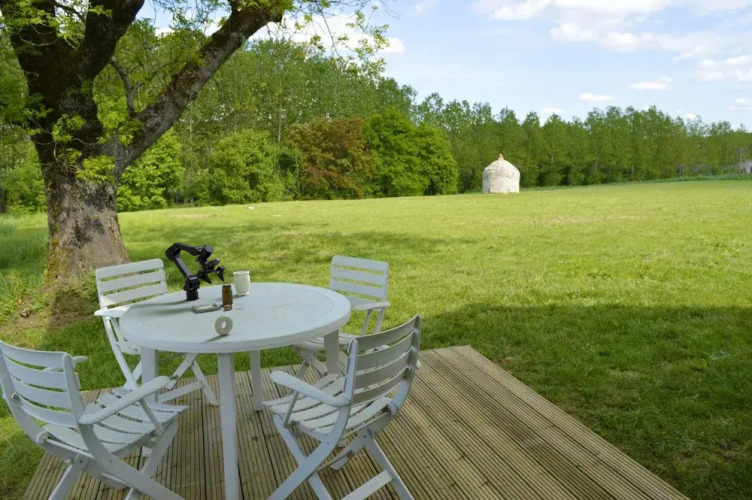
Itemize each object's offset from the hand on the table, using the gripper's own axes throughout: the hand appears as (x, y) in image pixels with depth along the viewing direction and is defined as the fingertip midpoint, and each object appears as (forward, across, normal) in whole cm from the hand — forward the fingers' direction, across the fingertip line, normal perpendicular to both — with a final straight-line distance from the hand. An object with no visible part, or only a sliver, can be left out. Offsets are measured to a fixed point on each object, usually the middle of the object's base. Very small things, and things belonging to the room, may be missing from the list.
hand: (217, 282), depth 337 cm
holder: (+13, -14, +5) cm, 20 cm away
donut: (+49, -45, -34) cm, 75 cm away
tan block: (+22, -8, -4) cm, 24 cm away
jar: (+5, +25, +14) cm, 29 cm away
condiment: (+15, 0, +3) cm, 15 cm away
